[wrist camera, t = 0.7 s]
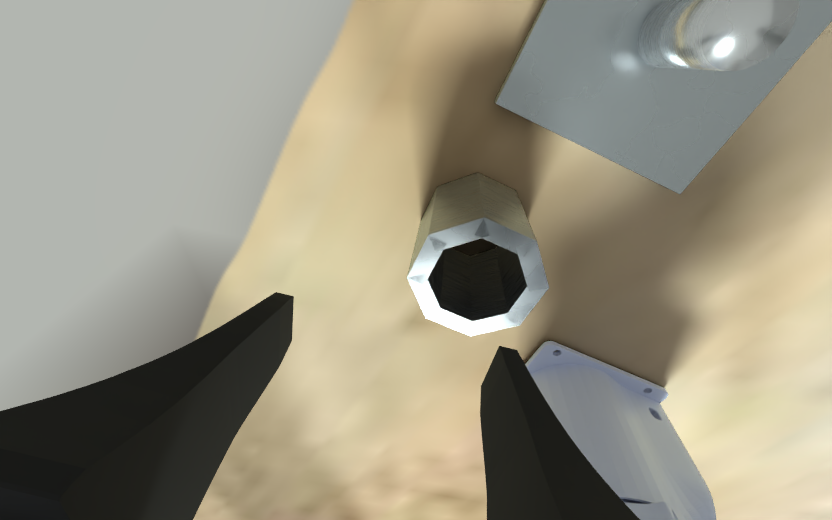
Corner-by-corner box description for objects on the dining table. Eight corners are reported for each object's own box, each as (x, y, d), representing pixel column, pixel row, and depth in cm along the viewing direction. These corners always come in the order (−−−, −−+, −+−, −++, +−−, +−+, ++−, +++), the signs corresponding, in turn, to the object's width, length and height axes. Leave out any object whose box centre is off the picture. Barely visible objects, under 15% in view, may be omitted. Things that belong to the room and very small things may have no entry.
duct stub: (878, -53, 13) (1104, -114, 8) (671, 189, 18) (743, 233, 13) (644, -200, 12) (759, -361, 7) (493, 101, 17) (506, 117, 12)
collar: (541, 202, 19) (572, 257, 14) (491, 278, 21) (501, 348, 16) (450, 159, 18) (445, 200, 13) (410, 243, 21) (393, 304, 16)
